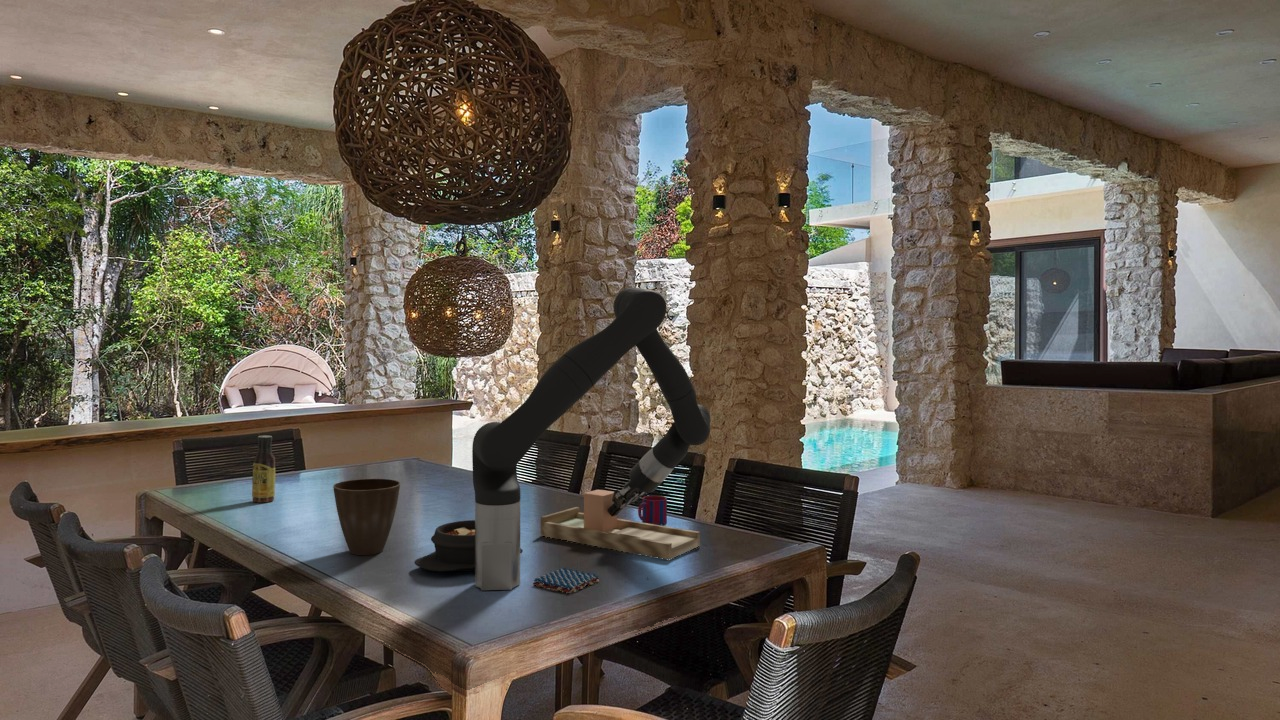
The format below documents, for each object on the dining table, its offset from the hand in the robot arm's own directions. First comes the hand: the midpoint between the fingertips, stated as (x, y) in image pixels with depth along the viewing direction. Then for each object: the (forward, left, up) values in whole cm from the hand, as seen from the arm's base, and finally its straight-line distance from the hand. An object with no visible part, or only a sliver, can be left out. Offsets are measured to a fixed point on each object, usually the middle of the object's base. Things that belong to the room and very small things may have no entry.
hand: (611, 513), depth 205 cm
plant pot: (-5, +58, -7) cm, 59 cm away
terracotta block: (+3, +2, -4) cm, 6 cm away
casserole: (-18, +33, -7) cm, 38 cm away
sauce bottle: (+55, +101, -7) cm, 115 cm away
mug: (+17, -12, -7) cm, 22 cm away
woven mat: (-34, +12, -8) cm, 37 cm away
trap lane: (-2, -2, -7) cm, 7 cm away
